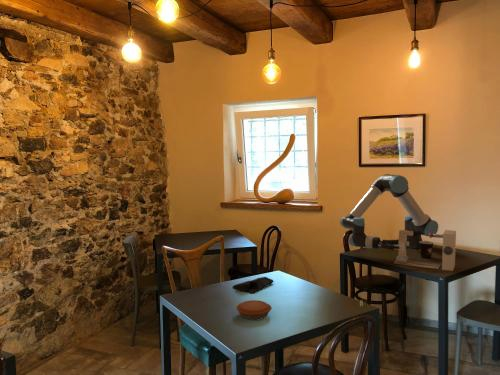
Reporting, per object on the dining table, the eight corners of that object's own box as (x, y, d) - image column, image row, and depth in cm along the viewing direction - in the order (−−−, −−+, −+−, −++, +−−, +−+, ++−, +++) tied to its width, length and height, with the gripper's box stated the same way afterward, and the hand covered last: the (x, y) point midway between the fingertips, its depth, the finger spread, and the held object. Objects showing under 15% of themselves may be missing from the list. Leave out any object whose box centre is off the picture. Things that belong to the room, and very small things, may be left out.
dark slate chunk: (278, 285, 235) (278, 276, 234) (250, 295, 218) (250, 286, 218) (256, 279, 245) (256, 271, 244) (229, 289, 229) (229, 280, 228)
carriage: (398, 258, 282) (399, 229, 280) (413, 259, 278) (413, 230, 276) (396, 260, 276) (396, 231, 274) (411, 262, 272) (411, 232, 270)
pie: (250, 325, 181) (250, 313, 181) (229, 313, 194) (229, 302, 193) (278, 316, 190) (278, 305, 190) (257, 306, 203) (257, 295, 202)
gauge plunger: (430, 237, 270) (430, 232, 269) (447, 238, 265) (448, 233, 264) (429, 238, 267) (429, 233, 267) (447, 239, 262) (447, 234, 262)
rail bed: (397, 259, 284) (397, 257, 284) (440, 264, 272) (440, 262, 272) (393, 263, 275) (393, 261, 275) (438, 269, 262) (438, 267, 262)
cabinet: (444, 264, 271) (445, 230, 269) (454, 266, 268) (456, 230, 266) (441, 269, 260) (443, 233, 258) (452, 271, 257) (454, 234, 255)
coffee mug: (430, 255, 294) (431, 241, 293) (434, 259, 285) (435, 244, 284) (412, 255, 295) (413, 241, 294) (416, 258, 286) (416, 243, 286)
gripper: (377, 244, 297) (410, 247, 286) (368, 252, 275) (403, 256, 265) (377, 233, 296) (410, 236, 286) (368, 240, 275) (403, 243, 264)
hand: (407, 245), depth 275 cm, fingers open, 13 cm apart
